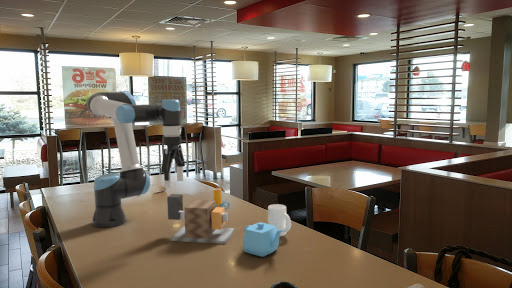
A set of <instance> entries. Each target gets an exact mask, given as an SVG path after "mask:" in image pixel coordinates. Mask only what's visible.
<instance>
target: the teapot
mask: <svg viewBox="0 0 512 288" xmlns="http://www.w3.org/2000/svg"><path fill="white" fill-rule="evenodd" d="M282 231H284V230H278V231H277V229H276V226H274V225H270V224H268V223H266V222H265V223H264V222H261V221H260V222H257V223H253V224H252V225H251V224H249V225H246V226H245V227H244V235H243V240H242V248H243V251H244V252H245V253H247V254H250V255H254V256H258V257H261V258H263V257H266V256H267V255H270V254H272V253H273V252H275V251H277V249H278V247H279V244H280V237H281V236H280V233H281V232H282Z"/></svg>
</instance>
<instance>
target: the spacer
mask: <svg viewBox="0 0 512 288" xmlns="http://www.w3.org/2000/svg"><path fill="white" fill-rule="evenodd" d="M224 212H226V211H225V207H224V206H223V207H216V208H215V209H214V210H213V211H212V212H211V219H212V229H220V230H221V229H222V228H224V226H225V225H226V221H222V214H223V213H224Z"/></svg>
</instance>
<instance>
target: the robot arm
mask: <svg viewBox="0 0 512 288" xmlns="http://www.w3.org/2000/svg"><path fill="white" fill-rule="evenodd" d="M180 104H181V103H180V100H179V99H163V100H161V104H158V103H151V104H137V103H136V100H135V97H134V96H133V94H131V93H130V92H124V91H110V92H109V91H99V92H95V93H93V94H92V95H90V96H89V97H88V98H87V100H86V108H87V110H88V112H90V113H91V114H93V115H95V116H100V117H101V116H106V117H109V121H111V122H112V123H113V125H114V132H115V137H116V142H117V143H116V144H117V148H118V153H119V160H120V164H121V169H120V170H119V173H118V172H112V173H111V172H109V173H104V174H101V175H99V176H97V177H96V178H95V179H94V181H93V190H94V191H93V192H94V204H95V206H94V207H95V209H94V213H93V216H92V221H91V222H92V225H93V227H96V228H109V227H110V228H111V227H117V226H119V225H122V224H124V223H125V222H126V221H127V218H126V213H125V212H124V211H125V210H124V209H123V206H122V200H123V199H128V198H133V197H139V196H142V195H145V194H147V192H149V191H150V186H151V178H150V175H149V173H148V171H146V170H145V171H144V167H143V166H141V165H140V160H139V155H138V149H137V145H136V140H135V139H136V138H135V135H134V129H133V124H135V123H136V124H137V123H150V122H151V123H153V122H154V123H155V122H162V134H163V137H162V139H163V145H164V146H166V148H163V155H162V162H161V169H160V173H162V174H163V181H164V182H163V183H164V189H172V173H171V172H172V171H171V168H172V164H173V161H175V164H176V181H177V182H184V167H185V166H186V164H185V163H186V162H185V158H184V154H183V149H182V136H181V134H182V129H183V128H182V127H181V126H182V125H181V122H182V121H181V120H182V119H181V117H182V116H181V105H180ZM170 171H171V172H170Z"/></svg>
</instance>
